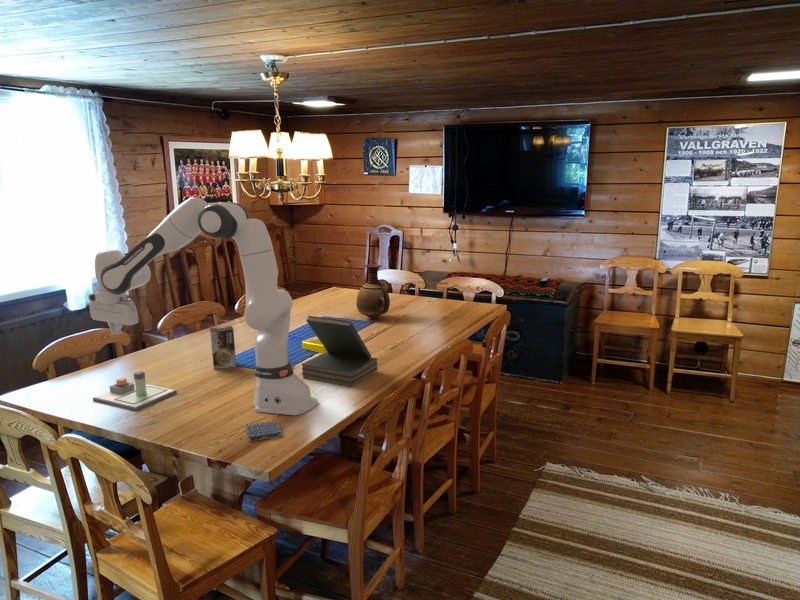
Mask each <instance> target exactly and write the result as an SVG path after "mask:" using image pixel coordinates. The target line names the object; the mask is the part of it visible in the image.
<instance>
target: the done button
mask: <svg viewBox="0 0 800 600" xmlns="http://www.w3.org/2000/svg"><path fill="white" fill-rule="evenodd" d="M115 382H116V383H115V384H117V387H124V386H126V385H127V382H128V380H127V378H126V377H125V378H124V377H121V378H118V379H116V380H115Z"/></svg>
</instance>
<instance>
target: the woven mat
mask: <svg viewBox="0 0 800 600" xmlns="http://www.w3.org/2000/svg"><path fill="white" fill-rule="evenodd" d="M244 427H245V429H244V430H245V434H247V437H246V438H247V441H248V442H255V441H262V440H267V439H273V438H281V437H283V436H284V435H283V434H282V430H281V429H282V428H281V426H280V424H279V421H277V420H275V421H274V419H272V421H269V420H267V421H265V422H264V421H262V422H260V423H259V422H257V423H254V422H252V423H250V424H248V423H247V424H246V426H244Z"/></svg>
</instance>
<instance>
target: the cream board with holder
mask: <svg viewBox="0 0 800 600" xmlns="http://www.w3.org/2000/svg"><path fill="white" fill-rule="evenodd" d="M146 391H147V395H145V396H136V388H135V381H134V382H131V381H130V382H129V381H127V385H126V386H124V387H117V383H114V384H111V385H109V391H108V392H105V393H102V394H100V395H97V396H95V397H92V401H93V402H97V403H99V404H100V403H101V404H105V405H110V406H113V407H117V408H121V409H127V410H130V411H131V410H132V411H134V412H137V411H140V410H141V409H144V408H146V407H149V406H150V405H153V404H155V403H157V402H159V401H162V400H164V399H166V398H168V397H171V396H173V395H175V394H178V391H177V390H176V389H172V388H167V387H163V386H159V385H152V384H148V383H146Z"/></svg>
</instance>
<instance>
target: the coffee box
mask: <svg viewBox="0 0 800 600" xmlns="http://www.w3.org/2000/svg"><path fill="white" fill-rule="evenodd" d="M209 331H210V335H209V336H210V344H211V357H212V359H211V360H212V367H213V370H219V369H227V368H228V369H229V368H234V367H235V368H236V367H237V359H236V357H237V356H236V348H235V335H234V333H235V331H234V328H233V326H232V325H229V326H226V325H225V326H218V327H210V328H209Z"/></svg>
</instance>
